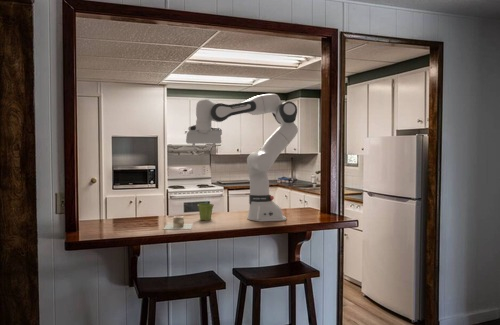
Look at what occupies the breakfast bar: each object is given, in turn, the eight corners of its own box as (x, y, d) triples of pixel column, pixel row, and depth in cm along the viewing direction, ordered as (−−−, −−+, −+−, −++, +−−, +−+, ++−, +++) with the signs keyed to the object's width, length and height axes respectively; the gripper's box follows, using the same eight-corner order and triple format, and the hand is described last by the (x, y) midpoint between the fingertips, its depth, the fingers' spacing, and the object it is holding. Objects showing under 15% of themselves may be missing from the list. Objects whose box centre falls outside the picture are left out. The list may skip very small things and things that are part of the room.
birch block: (184, 225, 225) (184, 216, 225) (183, 227, 220) (182, 217, 220) (174, 225, 225) (174, 216, 224) (173, 227, 220) (173, 217, 219)
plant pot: (211, 218, 250) (211, 203, 249) (215, 220, 241) (215, 205, 241) (196, 219, 247) (195, 204, 246) (199, 221, 238) (199, 206, 238)
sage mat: (193, 224, 230) (193, 223, 230) (190, 229, 216) (190, 228, 216) (167, 224, 229) (167, 224, 229) (163, 229, 215) (163, 229, 215)
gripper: (221, 127, 249) (222, 151, 249) (186, 127, 248) (186, 151, 248) (221, 127, 242) (221, 151, 243) (185, 127, 241) (185, 151, 242)
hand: (203, 151), depth 245 cm, fingers open, 8 cm apart
